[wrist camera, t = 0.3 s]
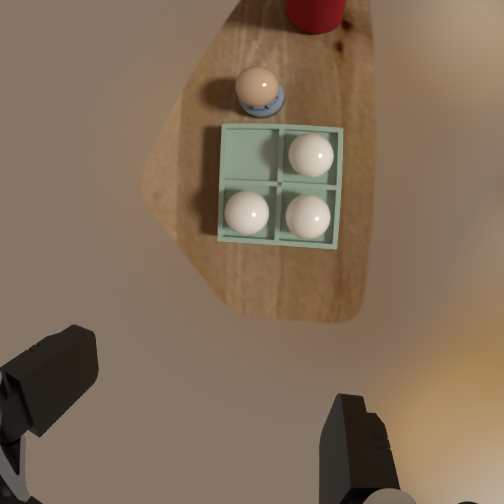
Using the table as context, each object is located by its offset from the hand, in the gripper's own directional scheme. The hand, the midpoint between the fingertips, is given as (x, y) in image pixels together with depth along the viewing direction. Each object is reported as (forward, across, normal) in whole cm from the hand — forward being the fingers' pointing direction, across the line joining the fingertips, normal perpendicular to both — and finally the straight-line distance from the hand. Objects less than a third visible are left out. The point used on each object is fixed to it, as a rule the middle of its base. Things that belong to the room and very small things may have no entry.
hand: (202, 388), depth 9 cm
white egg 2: (+25, -2, -10) cm, 27 cm away
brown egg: (+25, +4, -16) cm, 30 cm away
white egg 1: (+25, +3, -3) cm, 26 cm away
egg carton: (+27, 0, -6) cm, 28 cm away
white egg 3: (+25, -3, -4) cm, 26 cm away
